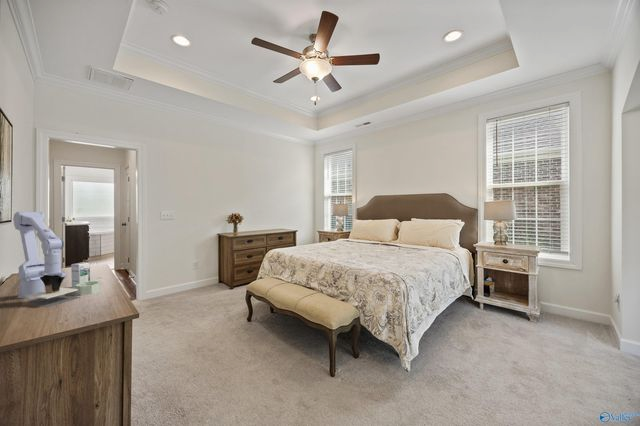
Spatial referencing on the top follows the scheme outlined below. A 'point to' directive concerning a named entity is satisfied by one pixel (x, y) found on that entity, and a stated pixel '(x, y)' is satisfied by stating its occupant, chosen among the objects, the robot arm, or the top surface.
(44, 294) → the cover sheet
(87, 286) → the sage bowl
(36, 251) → the robot arm
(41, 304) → the charcoal mat
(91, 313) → the top surface
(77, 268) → the syrup box
